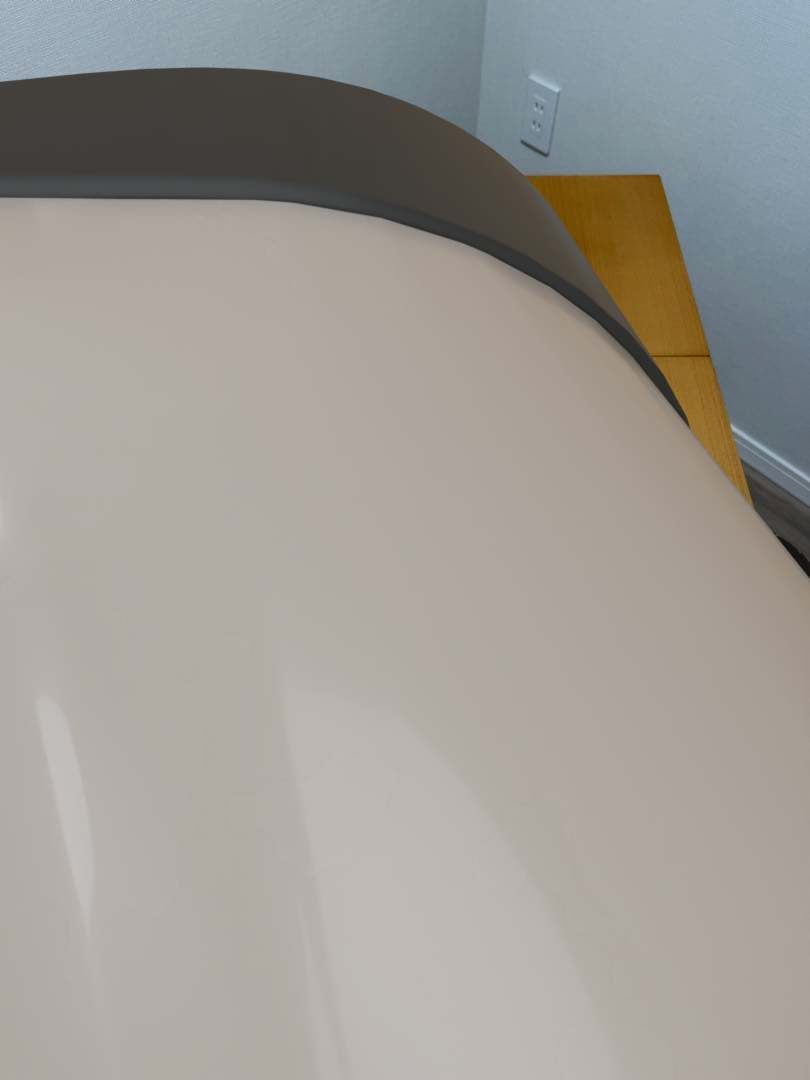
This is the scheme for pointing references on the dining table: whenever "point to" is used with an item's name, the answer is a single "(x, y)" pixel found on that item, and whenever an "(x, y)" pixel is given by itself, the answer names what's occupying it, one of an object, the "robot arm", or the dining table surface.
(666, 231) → the dining table surface
